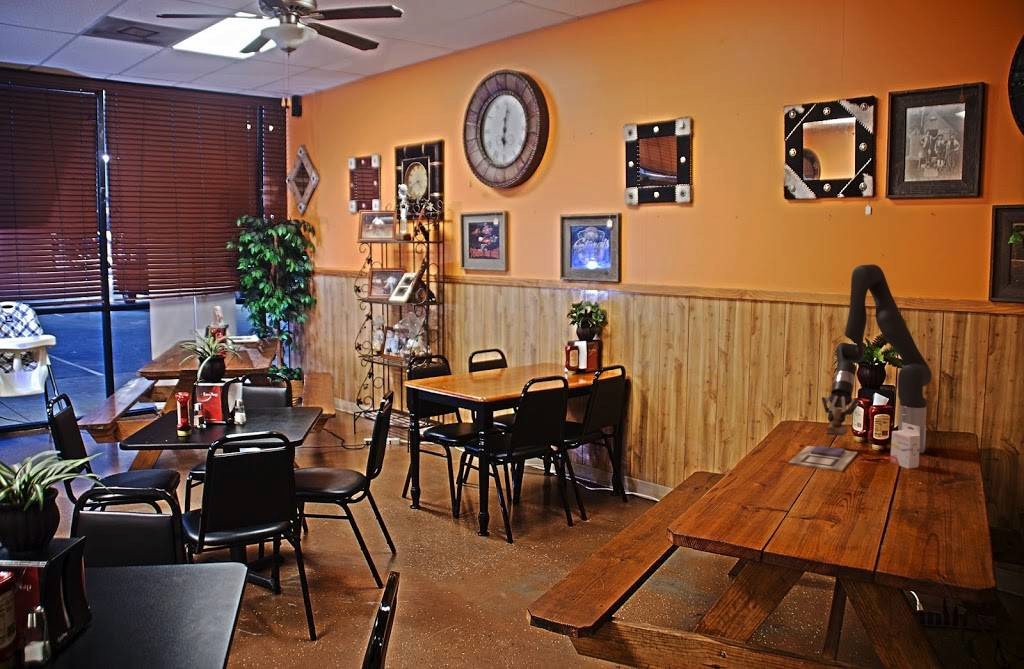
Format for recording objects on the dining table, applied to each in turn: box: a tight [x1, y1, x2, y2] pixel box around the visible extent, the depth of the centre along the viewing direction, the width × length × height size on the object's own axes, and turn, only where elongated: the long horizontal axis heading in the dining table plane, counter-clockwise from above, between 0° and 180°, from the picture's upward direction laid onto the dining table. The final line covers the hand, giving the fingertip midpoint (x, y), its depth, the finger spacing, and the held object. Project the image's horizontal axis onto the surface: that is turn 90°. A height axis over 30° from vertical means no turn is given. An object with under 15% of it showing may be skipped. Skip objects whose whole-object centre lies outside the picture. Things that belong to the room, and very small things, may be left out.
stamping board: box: [788, 445, 858, 472], centre depth 306 cm, size 18×28×2 cm, turn 147°
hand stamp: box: [826, 408, 848, 437], centre depth 321 cm, size 6×6×9 cm
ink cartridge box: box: [889, 422, 920, 470], centre depth 297 cm, size 9×5×15 cm, turn 22°
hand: (835, 421), depth 319 cm, fingers closed on hand stamp, 3 cm apart
